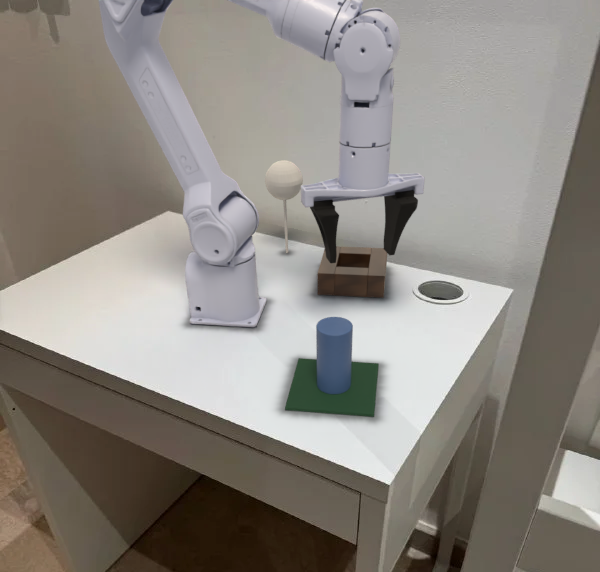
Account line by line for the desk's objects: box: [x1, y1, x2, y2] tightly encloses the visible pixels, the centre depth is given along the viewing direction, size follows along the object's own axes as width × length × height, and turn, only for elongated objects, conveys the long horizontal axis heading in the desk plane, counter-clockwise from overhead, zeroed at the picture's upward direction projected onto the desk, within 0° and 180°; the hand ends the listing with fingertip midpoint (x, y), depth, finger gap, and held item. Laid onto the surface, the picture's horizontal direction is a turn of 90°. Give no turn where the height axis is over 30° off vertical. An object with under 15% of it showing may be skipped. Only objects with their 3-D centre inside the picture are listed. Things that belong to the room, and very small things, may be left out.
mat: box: [284, 357, 380, 418], centre depth 70 cm, size 10×10×1 cm
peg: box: [315, 316, 354, 394], centre depth 67 cm, size 4×4×8 cm
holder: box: [316, 245, 388, 299], centre depth 90 cm, size 10×10×4 cm
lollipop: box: [264, 159, 304, 254], centre depth 96 cm, size 6×6×15 cm
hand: (360, 256), depth 74 cm, fingers open, 7 cm apart
